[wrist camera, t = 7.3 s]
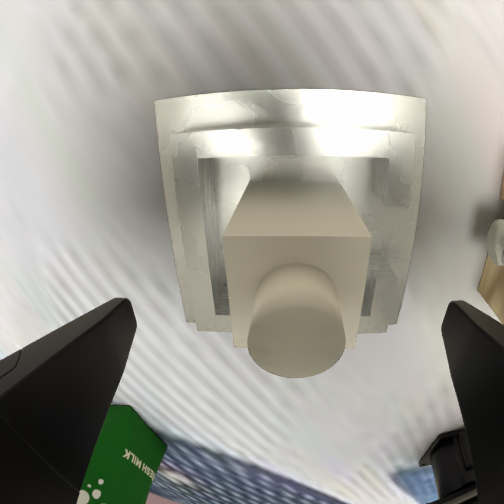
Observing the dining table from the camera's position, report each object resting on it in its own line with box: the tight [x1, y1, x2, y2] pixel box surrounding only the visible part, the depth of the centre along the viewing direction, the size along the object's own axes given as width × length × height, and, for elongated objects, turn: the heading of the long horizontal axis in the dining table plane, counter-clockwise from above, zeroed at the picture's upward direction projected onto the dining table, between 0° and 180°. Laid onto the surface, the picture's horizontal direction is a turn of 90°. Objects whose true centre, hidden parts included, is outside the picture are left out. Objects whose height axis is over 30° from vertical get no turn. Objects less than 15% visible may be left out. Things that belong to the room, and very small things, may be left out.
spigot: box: [223, 181, 372, 378], centre depth 11 cm, size 4×4×8 cm
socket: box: [154, 89, 426, 333], centre depth 14 cm, size 12×12×3 cm
